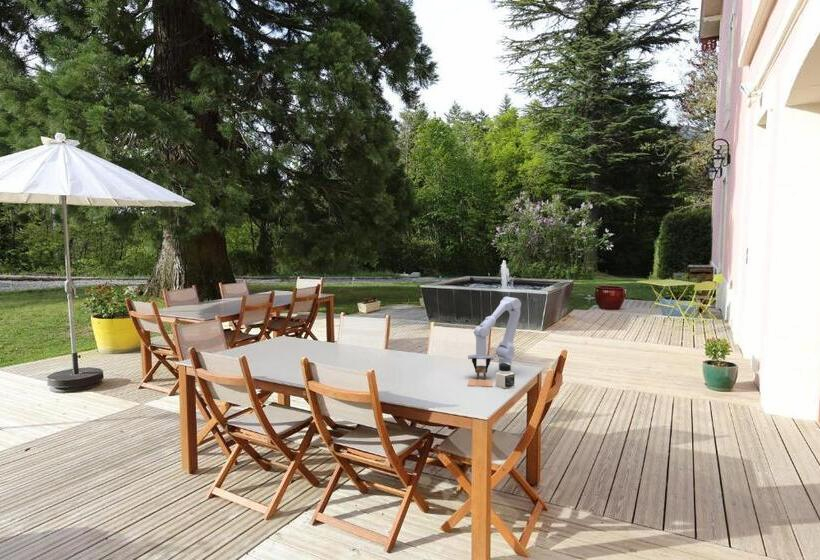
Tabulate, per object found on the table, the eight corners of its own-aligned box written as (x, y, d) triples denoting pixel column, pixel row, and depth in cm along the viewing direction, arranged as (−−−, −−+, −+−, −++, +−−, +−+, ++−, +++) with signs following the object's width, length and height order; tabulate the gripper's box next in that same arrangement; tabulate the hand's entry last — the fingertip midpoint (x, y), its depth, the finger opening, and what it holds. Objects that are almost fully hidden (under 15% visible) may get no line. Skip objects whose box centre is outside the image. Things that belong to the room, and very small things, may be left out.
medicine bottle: (505, 389, 273) (505, 366, 272) (495, 385, 278) (495, 363, 277) (514, 386, 277) (514, 364, 276) (504, 383, 283) (504, 361, 281)
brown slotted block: (476, 379, 290) (476, 369, 289) (477, 375, 298) (477, 365, 297) (485, 380, 289) (485, 369, 288) (486, 376, 297) (486, 365, 296)
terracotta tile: (468, 380, 289) (468, 379, 289) (492, 381, 287) (492, 380, 287) (467, 386, 278) (467, 385, 278) (492, 387, 276) (492, 386, 276)
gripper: (467, 349, 289) (467, 373, 290) (494, 349, 286) (494, 374, 288) (468, 346, 296) (468, 370, 297) (494, 347, 293) (494, 370, 295)
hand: (481, 372), depth 293 cm, fingers closed on brown slotted block, 5 cm apart
